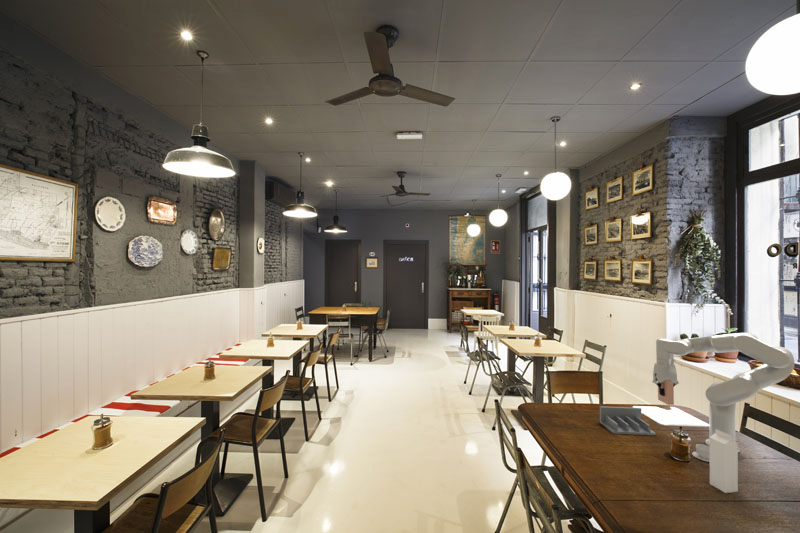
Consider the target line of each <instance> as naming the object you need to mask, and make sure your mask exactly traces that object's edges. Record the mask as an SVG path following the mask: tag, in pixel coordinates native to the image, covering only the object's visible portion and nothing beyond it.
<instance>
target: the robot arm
mask: <svg viewBox="0 0 800 533" xmlns="http://www.w3.org/2000/svg"><path fill="white" fill-rule="evenodd" d="M655 344H656V345H655V348H656V350H655V351H656V352H655V353H656V356H655V357H656V362H654V366H653V372H652V373H653V374H652V384H654V385H656V386H657V388H658V387H659V393H660V395H662V396H665V389H664V388H663V387H664V383H665V381H671V382H673V388H674V387H676V385H679V381H678V374H677V373H678V372H677V368H676V365H675V363H676V362H677V361H676V359H674V358H675V357H674V355H677V356H687V355H688V354H690V353H692V354H693V353H703V352H704V353H705V352H710V353H715V354H721V353H732V352H740V353H742V354H744V355H746V356H748V357H749V358H752V359H754V360H756V361H758V362H761V363H762V365H759V366H757V367H755V368H753V369H749V370H748V371H744V372H742V373H738V374H735V375H734V376H733V377H731V378H729V379H727V380H725V381H716V382H714V383H712V384H711V385H710V386H708V387H707V388H706V390H705V398H706V399H707V401H708V402H709V405H708V406H709V407H708V408H709V413H708V414H709V415H708V417H709V418H708V419H709V423H708V424H709V427H708V428H709V429H708V430H709V431H708V432H709V434H708V435H709V438H707V439H705V445H707V446H710V437H711V436H712V435H713V434H714V433H715V430H716V429H717V430H719V431H722V432H724V433H726V434H729V435H731V440H733V441H735V442H736V404H737V403H739V402H743V401H745V400H747V399H750V398H752V397H754V396H756V395H757V393H758V392H759V391H760V390H761V391H762V390H763V389H766V388H768V387H772V386H773V385H775V384H778V383H780V382H782V381H784V380H786V379H787V378H788V377H789V376H790V375H791V374H793V371H794V369H795V358H794V355H793V354H792V352H791V351H790V350H789V349H788V348H786V347H783V346H777V345H776V346H773V345H769V344H768V343H765V342H764V341H761V340H760V339H759V337H757V336H756V335H755V334H754V333H751V332H737V333H736V332H735V333H734V332H733V333H726V334H718V335H709V336H700V337H692V338H691V337H690V338H682V339H679V340H672V339H670V338H664V337H662V338H657V339H656V340H655ZM740 451H742V448H741V447H739V446H738V453H740Z"/></svg>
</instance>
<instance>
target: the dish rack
mask: <svg viewBox="0 0 800 533" xmlns="http://www.w3.org/2000/svg"><path fill="white" fill-rule="evenodd" d="M599 423H600V424H601V425H602V426H603V427H605V428H606V429H607V431H609V432H611V433H612V434H616V435H634V436H635V435H637V436H640V435H641V436H657V433H656V432H655V431H654V430H652V429H651V425H650V424H649V423H648V422H646V421H644V419H642V413H641V408H633V407H626V406H601V405H600V406H599Z"/></svg>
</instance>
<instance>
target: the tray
mask: <svg viewBox="0 0 800 533" xmlns="http://www.w3.org/2000/svg"><path fill="white" fill-rule="evenodd" d="M632 408H641V415H643V416H645V417H647V418H648V419H650V420H652V421H654V422H655V423H657V424H658V425H660V426H668V427H669V426H671V427H678V426H679V427H701V428H702V427H703V428H704V427H706V428H709V423H708V422H706V421H703V420H701V419H700V418H697V417H695V416H694V415H692V414H689V413H688V412H685V411H684V410H681V409H680V408H678V407H675V406H670V407H669V408H670V409H666V408H661V407H658V406H651V405H650V406H649V405H647V406H646V405H645V406H644V405H633V406H632Z"/></svg>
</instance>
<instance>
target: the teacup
mask: <svg viewBox="0 0 800 533" xmlns="http://www.w3.org/2000/svg"><path fill="white" fill-rule="evenodd" d="M691 455H692V456H693V457H695V458H697V459H699V460H701V461H704V462H709V463H710V446H708V445H707V444H700V443H697V444H695V451H693V452H691Z"/></svg>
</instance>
